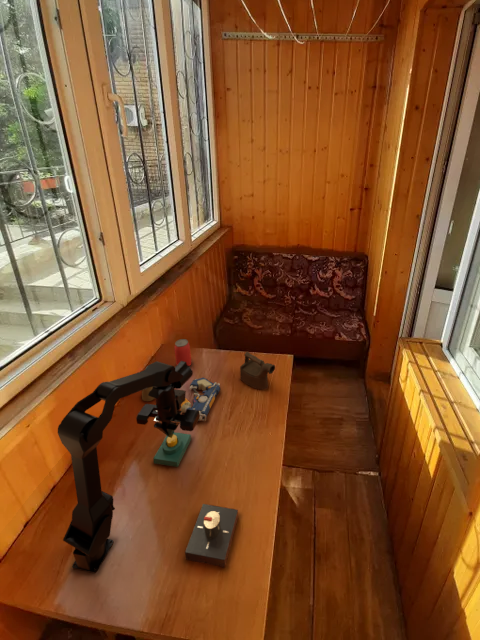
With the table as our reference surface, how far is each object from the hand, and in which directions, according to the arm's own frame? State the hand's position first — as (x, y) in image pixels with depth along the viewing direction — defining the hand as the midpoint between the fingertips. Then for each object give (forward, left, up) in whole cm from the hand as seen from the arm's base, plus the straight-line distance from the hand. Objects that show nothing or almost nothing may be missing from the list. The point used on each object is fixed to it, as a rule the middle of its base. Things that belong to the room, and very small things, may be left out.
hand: (171, 436), depth 101 cm
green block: (0, 0, -6) cm, 7 cm away
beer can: (+41, +16, -7) cm, 45 cm away
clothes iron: (+35, -20, -7) cm, 41 cm away
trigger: (0, 0, -3) cm, 3 cm away
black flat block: (-21, -22, -6) cm, 31 cm away
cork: (+21, +21, -7) cm, 31 cm away
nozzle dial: (-21, -22, -3) cm, 31 cm away
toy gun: (+21, +1, -7) cm, 22 cm away
